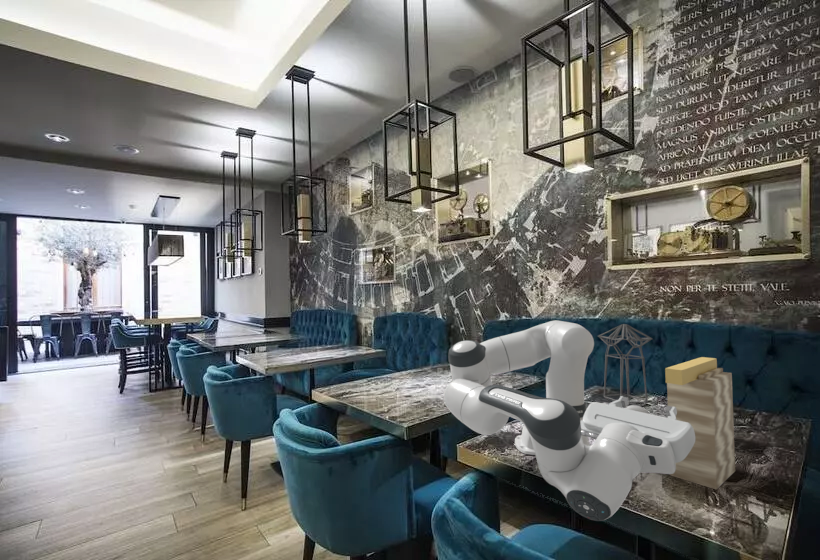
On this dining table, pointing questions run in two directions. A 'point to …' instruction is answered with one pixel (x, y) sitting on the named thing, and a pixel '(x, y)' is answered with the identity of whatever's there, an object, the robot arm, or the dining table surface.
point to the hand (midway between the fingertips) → (648, 403)
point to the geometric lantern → (625, 358)
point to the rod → (689, 370)
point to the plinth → (706, 427)
